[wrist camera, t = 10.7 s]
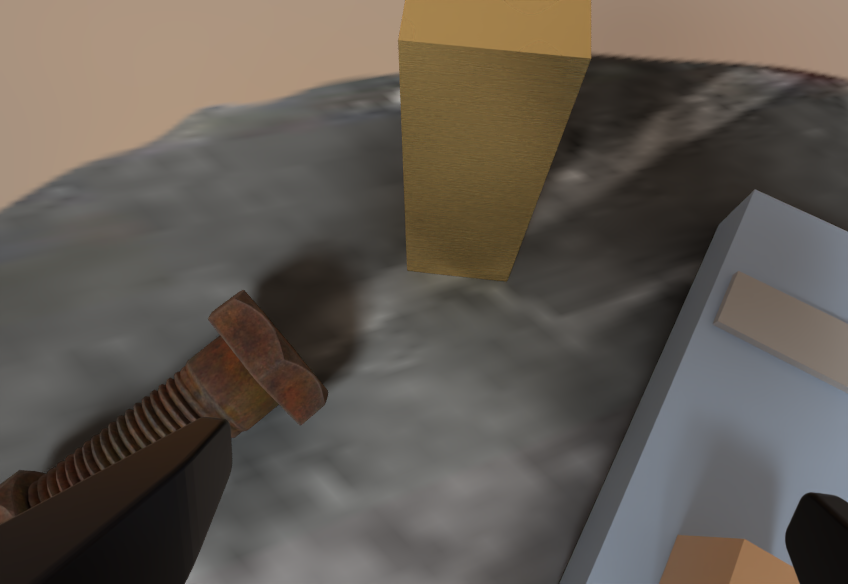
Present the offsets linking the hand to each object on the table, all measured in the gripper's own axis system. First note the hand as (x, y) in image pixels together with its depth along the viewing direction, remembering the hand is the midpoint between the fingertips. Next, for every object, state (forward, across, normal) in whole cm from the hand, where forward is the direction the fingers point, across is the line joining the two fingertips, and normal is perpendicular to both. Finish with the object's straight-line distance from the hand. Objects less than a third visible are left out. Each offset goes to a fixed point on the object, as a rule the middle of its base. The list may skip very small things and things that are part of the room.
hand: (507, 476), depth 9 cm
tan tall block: (+18, +1, +2) cm, 18 cm away
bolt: (+10, +12, +10) cm, 19 cm away
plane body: (+12, -11, +7) cm, 18 cm away
